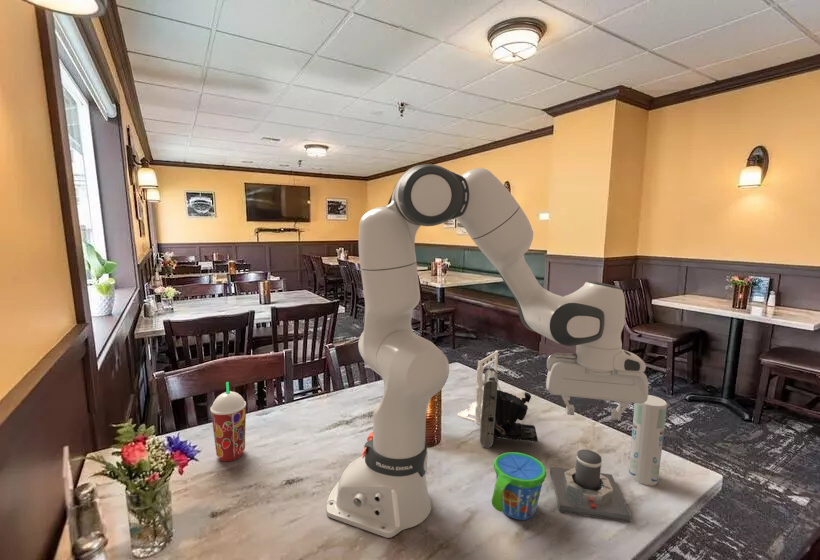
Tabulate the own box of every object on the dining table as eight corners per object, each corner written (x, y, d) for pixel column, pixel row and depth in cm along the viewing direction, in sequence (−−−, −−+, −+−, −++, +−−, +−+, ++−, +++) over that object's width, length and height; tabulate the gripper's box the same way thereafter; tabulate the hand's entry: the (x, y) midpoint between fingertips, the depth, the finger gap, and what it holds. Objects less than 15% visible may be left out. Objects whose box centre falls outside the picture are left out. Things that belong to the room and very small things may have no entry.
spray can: (658, 489, 92) (667, 408, 89) (627, 480, 95) (634, 401, 93) (658, 474, 97) (666, 398, 95) (628, 466, 101) (635, 392, 98)
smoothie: (253, 455, 103) (250, 382, 100) (221, 469, 97) (216, 392, 94) (239, 443, 109) (236, 373, 106) (208, 455, 103) (203, 382, 100)
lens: (576, 494, 88) (579, 460, 87) (572, 479, 93) (574, 448, 92) (601, 497, 87) (604, 464, 86) (595, 483, 92) (598, 451, 91)
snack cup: (521, 482, 94) (523, 442, 92) (560, 509, 85) (563, 465, 84) (473, 509, 85) (475, 465, 83) (511, 541, 76) (514, 493, 75)
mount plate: (559, 511, 84) (560, 496, 84) (550, 471, 98) (551, 458, 97) (630, 522, 82) (631, 507, 81) (611, 480, 95) (612, 466, 95)
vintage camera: (537, 456, 105) (544, 385, 103) (478, 447, 108) (484, 378, 106) (533, 438, 115) (539, 372, 112) (479, 430, 118) (484, 366, 115)
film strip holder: (474, 400, 137) (476, 345, 135) (512, 412, 129) (515, 353, 127) (454, 416, 126) (455, 356, 123) (494, 430, 118) (497, 366, 115)
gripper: (549, 356, 85) (545, 417, 86) (654, 365, 80) (647, 429, 82) (545, 347, 91) (541, 404, 92) (643, 355, 86) (637, 415, 88)
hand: (592, 416), depth 87 cm, fingers open, 8 cm apart
